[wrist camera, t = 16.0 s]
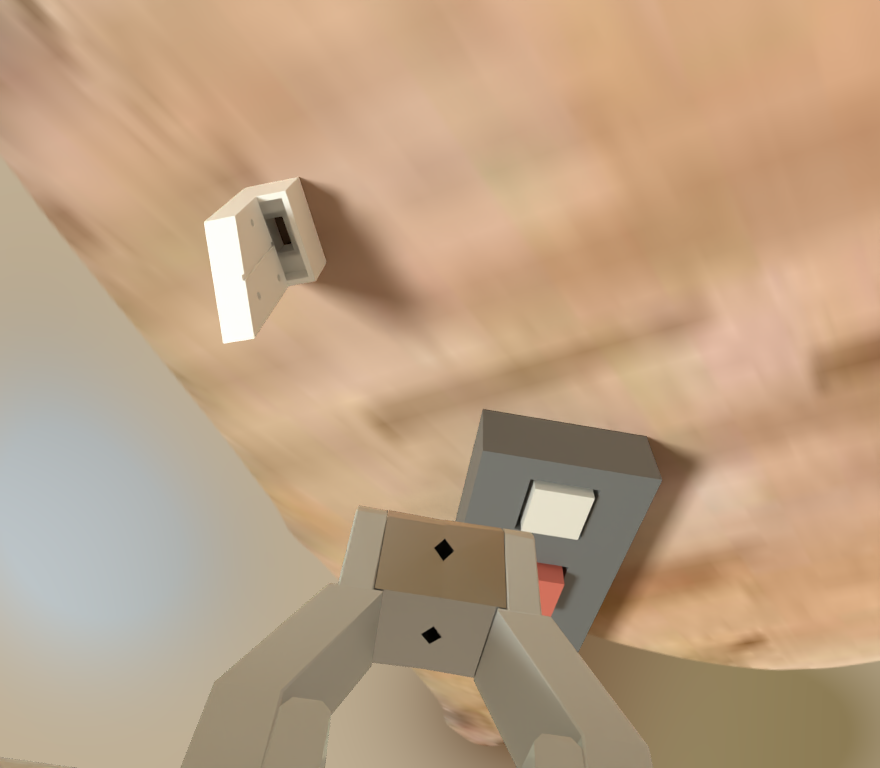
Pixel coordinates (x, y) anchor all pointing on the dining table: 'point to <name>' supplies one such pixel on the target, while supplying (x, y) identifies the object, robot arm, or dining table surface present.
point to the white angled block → (260, 254)
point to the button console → (575, 464)
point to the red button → (549, 586)
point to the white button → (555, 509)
